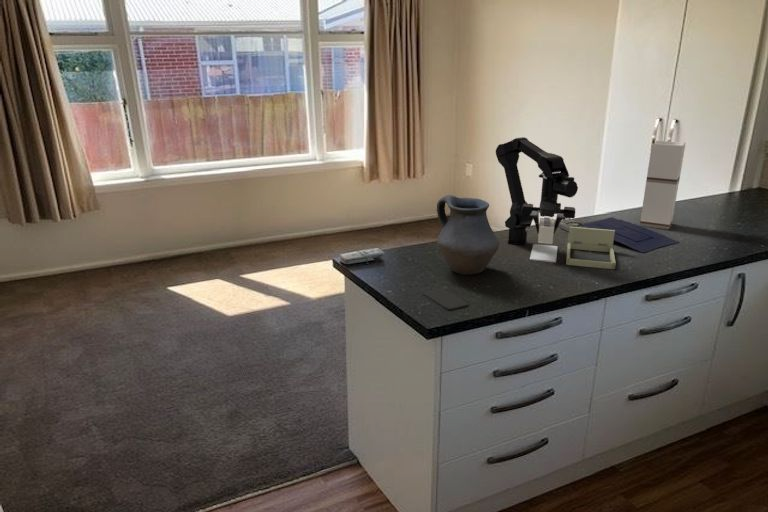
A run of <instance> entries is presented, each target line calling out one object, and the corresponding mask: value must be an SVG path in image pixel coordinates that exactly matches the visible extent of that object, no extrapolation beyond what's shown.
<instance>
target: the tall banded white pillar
mask: <svg viewBox="0 0 768 512" xmlns="http://www.w3.org/2000/svg"><path fill="white" fill-rule="evenodd" d="M654 142H655V143H654ZM654 142H653V143H651V148H650V153H649V159H648V161H649V162H648V167H647V176H646V181H645V187H644V195H643V199H642V206H641V207H642V208H641V215H640V219H639V222H640V223H639V226H641V227H645V228H646V227H647V228H652V229H653V228H655V229H661V230H668V229H669V230H670V228H671V227H672V225H673V221H674V220H673V218H674V212H675V207H676V201H677V194H678V189H679V184H680V179H681V173H682V167H683V161H684V160H683V159H684V157H685V156H684V155H685V149H686V142H680V141H667V140H666V141H665V140H655V141H654ZM671 224H672V225H671ZM670 226H671V227H670Z"/></svg>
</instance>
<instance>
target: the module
mask: <svg viewBox="0 0 768 512" xmlns="http://www.w3.org/2000/svg"><path fill="white" fill-rule="evenodd" d="M554 220H555V219H554V218H551V217H547V216H544V217H539V233H537V234H538V235H537V243H538V244H546V245H552V244H553V242H554V235H555V234H554V223H555V221H554ZM553 234H554V235H553Z"/></svg>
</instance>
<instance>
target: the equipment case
mask: <svg viewBox="0 0 768 512" xmlns="http://www.w3.org/2000/svg"><path fill="white" fill-rule="evenodd" d="M614 234H615V230H606V229H594V228H581V227H569V231H568V236H567V237H568V238H567V245H566V249H567V250H566V260H565V261H566V263H565V265H566V266H567V265H568V266H578V267H588V268H597V269H609V270H616V266H617V264H616V263H617V262H616V258H615V252H614V241H615V240H614ZM571 250H580V251H582V250H583V251H591V252H592V251H593V252H605V253H609V259H610V261H600V260H599V261H598V260H590V259H580V258H579V259H578V258H571Z"/></svg>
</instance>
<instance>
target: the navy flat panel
mask: <svg viewBox="0 0 768 512" xmlns="http://www.w3.org/2000/svg"><path fill="white" fill-rule="evenodd" d="M581 225H583V226H585V227H586V228H594V229H606V230H615V234H614V241H615V242H618V243H619V244H622V245H625V246H627V247H629V248H631V249H633V250H636V251H639V252H641V253H643V254H644V253H647V252H648V251H651V250H655V249H658V248H660V247H664V246H668V245H669V246H670V245H673V244H677V243H679V241H678V240H675V239H673V238H671V237H669V236H666V235H664V234H662V233H659V232H658V231H657V232H656V231H655V230H651V229H649V228H648V227H647V228H646V227H645V226H640V224H636V223H632V222H630V221H625V220H623V219H621V218H620V219H618V218H616V217H612V216H611V217H608V218H603V219H599V220H594V221H590V222H586V223H583V224H581Z"/></svg>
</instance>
